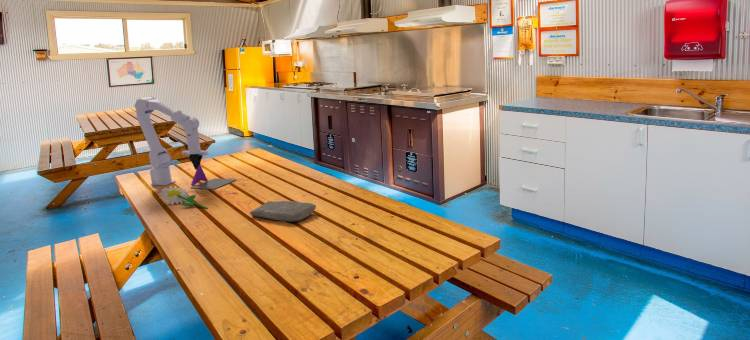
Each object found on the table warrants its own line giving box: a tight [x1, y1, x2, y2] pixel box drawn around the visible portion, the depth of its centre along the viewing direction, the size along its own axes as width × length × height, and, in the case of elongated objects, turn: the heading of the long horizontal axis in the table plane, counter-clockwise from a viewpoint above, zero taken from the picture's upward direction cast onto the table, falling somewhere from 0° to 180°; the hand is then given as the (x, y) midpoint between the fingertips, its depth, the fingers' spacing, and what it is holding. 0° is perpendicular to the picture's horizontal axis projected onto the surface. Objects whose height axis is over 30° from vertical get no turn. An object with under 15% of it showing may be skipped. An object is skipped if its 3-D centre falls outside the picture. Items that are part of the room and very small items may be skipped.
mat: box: [190, 178, 238, 191], centre depth 260 cm, size 14×18×1 cm
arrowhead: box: [190, 164, 209, 187], centre depth 263 cm, size 10×2×10 cm
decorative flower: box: [158, 185, 209, 210], centre depth 228 cm, size 13×5×30 cm
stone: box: [249, 200, 317, 223], centre depth 204 cm, size 26×4×15 cm
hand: (197, 169), depth 262 cm, fingers closed
